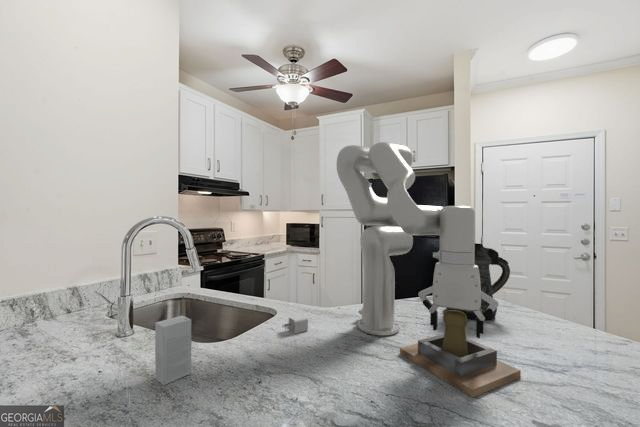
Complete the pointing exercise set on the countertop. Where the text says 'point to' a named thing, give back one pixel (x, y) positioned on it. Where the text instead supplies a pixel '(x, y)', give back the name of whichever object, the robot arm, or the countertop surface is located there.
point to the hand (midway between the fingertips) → (456, 332)
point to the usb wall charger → (297, 324)
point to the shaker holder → (462, 365)
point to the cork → (455, 333)
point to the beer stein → (488, 277)
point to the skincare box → (172, 349)
